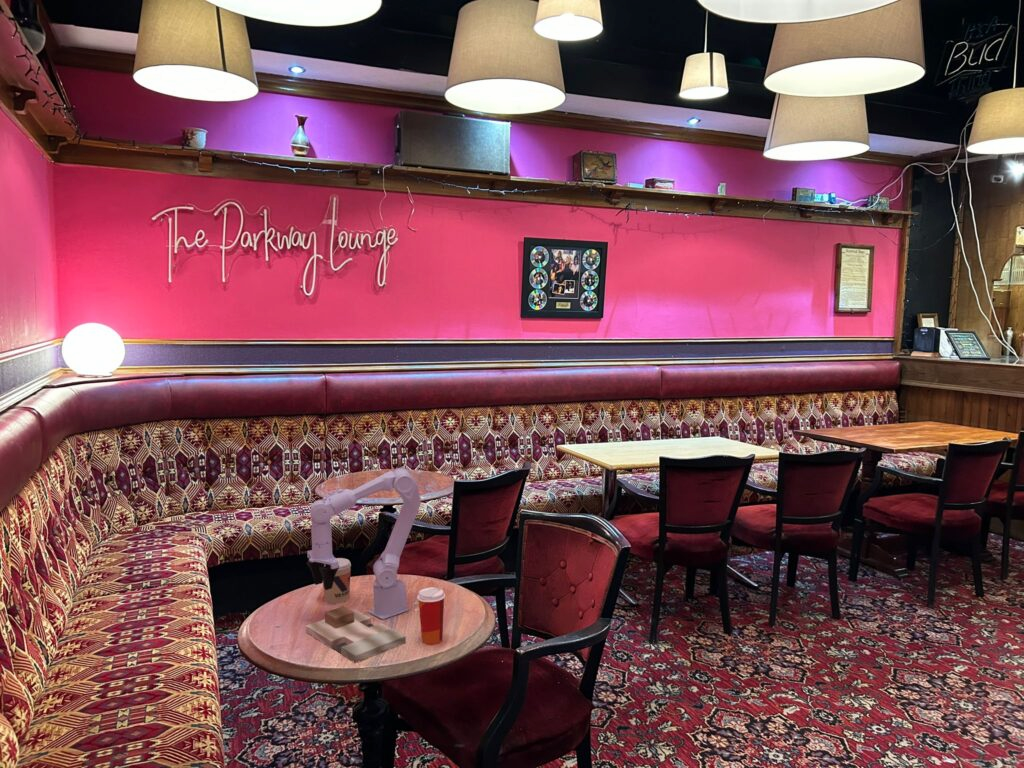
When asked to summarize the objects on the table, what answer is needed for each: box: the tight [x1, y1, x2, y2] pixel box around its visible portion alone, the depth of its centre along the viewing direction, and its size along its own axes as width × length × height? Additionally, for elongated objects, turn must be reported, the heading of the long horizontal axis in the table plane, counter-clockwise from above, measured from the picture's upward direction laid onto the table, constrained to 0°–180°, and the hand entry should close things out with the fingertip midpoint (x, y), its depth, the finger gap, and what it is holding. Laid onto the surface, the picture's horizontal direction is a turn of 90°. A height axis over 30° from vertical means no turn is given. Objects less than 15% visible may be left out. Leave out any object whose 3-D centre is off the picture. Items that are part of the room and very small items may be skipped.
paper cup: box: [417, 586, 446, 646], centre depth 200 cm, size 8×8×14 cm
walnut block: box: [324, 605, 354, 628], centre depth 209 cm, size 6×6×3 cm
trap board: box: [305, 608, 407, 664], centre depth 203 cm, size 16×26×2 cm, turn 44°
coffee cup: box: [322, 557, 352, 605], centre depth 230 cm, size 9×9×12 cm
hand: (323, 586), depth 214 cm, fingers open, 5 cm apart
